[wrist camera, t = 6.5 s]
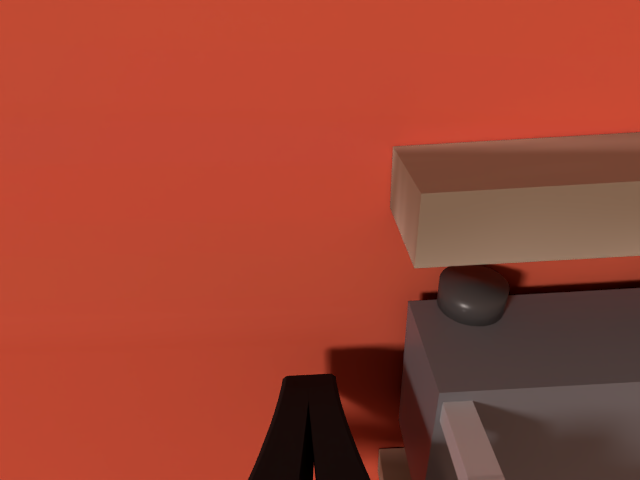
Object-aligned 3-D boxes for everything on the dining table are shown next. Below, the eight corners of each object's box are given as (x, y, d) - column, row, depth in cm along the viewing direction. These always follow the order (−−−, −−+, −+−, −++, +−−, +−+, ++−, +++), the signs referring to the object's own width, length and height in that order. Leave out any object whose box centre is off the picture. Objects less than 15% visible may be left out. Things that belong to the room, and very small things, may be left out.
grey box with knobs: (654, 403, 13) (834, 611, 9) (394, 417, 14) (438, 631, 9) (750, 247, 10) (1118, 448, 6) (405, 267, 10) (485, 483, 6)
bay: (672, 455, 15) (732, 529, 13) (377, 471, 15) (389, 547, 13) (921, 115, 8) (1126, 153, 6) (393, 146, 9) (421, 193, 6)
